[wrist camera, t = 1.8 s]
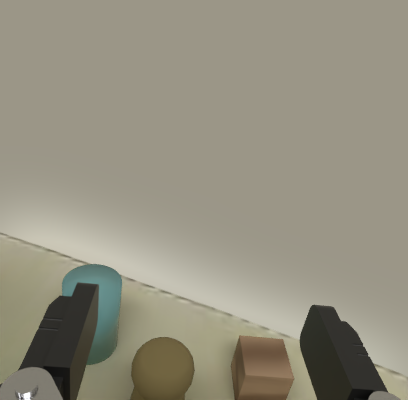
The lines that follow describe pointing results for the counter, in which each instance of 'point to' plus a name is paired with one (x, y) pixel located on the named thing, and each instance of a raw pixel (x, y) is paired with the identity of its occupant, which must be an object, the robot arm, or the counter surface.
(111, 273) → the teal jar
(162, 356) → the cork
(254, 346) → the walnut block
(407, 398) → the counter surface
